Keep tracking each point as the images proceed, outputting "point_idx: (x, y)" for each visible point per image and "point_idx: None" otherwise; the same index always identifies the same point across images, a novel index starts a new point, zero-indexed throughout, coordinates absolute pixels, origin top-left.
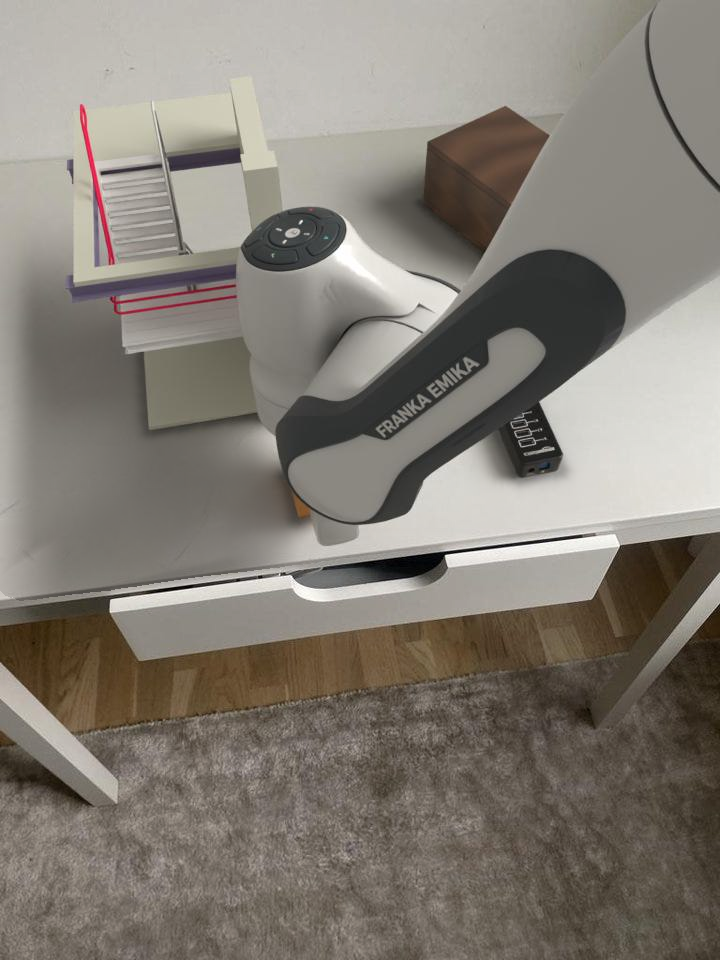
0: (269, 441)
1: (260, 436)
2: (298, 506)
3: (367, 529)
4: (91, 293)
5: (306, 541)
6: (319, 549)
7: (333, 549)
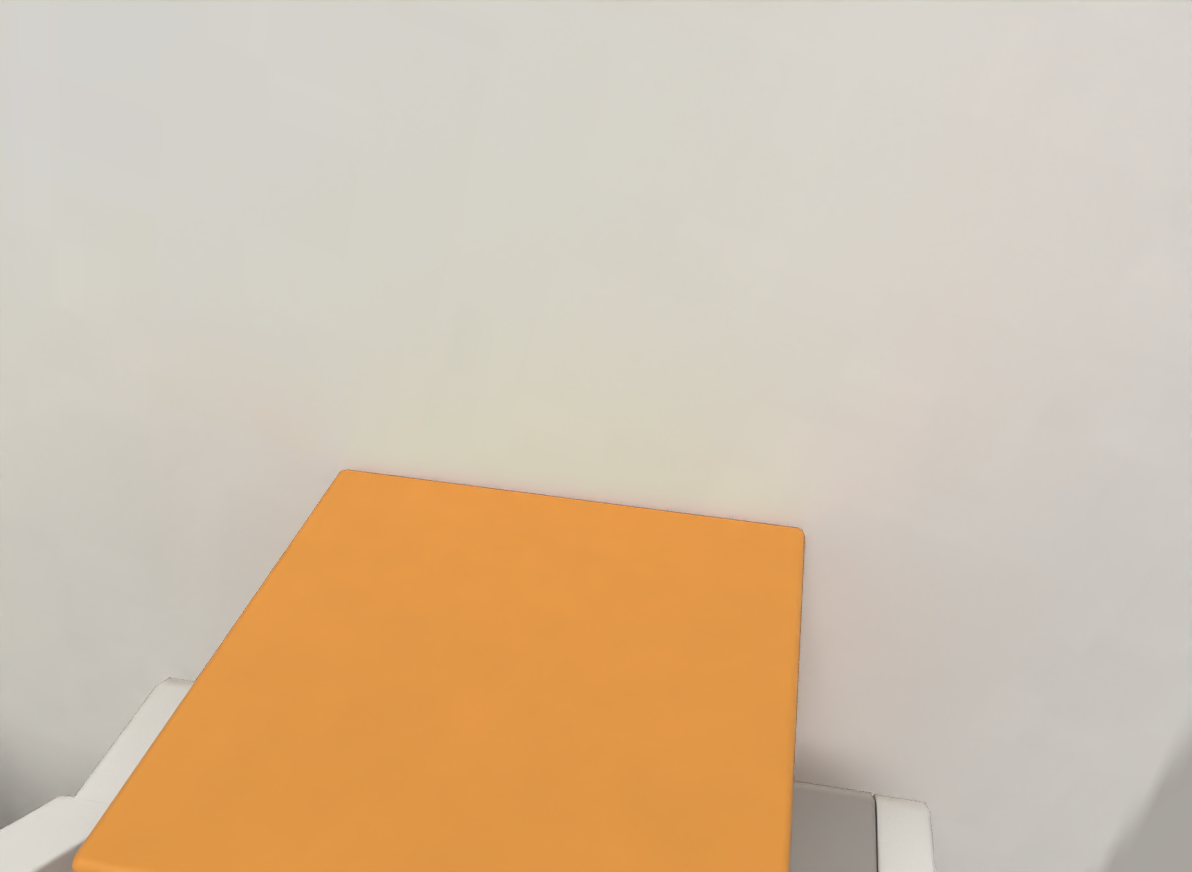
0: (78, 758)
1: (39, 783)
2: None
3: (1141, 465)
4: None
5: (978, 861)
6: (1099, 825)
7: (1164, 756)
